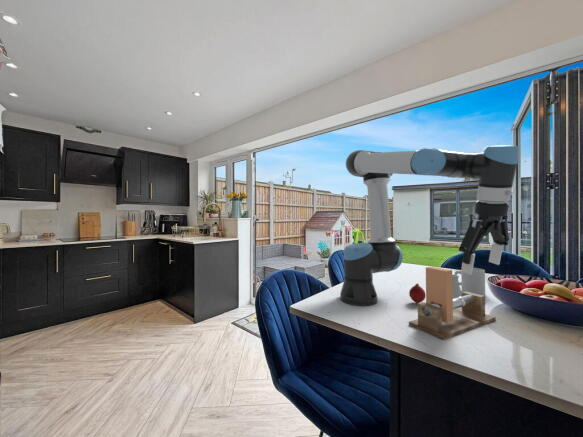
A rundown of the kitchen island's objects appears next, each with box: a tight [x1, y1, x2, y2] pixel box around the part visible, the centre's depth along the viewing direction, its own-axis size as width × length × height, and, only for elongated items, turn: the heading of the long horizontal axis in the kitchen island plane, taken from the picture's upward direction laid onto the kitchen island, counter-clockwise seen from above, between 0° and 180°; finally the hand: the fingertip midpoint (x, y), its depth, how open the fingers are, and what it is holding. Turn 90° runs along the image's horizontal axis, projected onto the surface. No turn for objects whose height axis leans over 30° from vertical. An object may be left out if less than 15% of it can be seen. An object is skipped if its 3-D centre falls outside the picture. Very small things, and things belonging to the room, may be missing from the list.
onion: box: [408, 283, 426, 304], centre depth 98 cm, size 6×6×8 cm
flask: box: [452, 274, 462, 299], centre depth 102 cm, size 7×7×10 cm
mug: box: [453, 267, 486, 297], centre depth 110 cm, size 12×8×11 cm
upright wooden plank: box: [425, 266, 453, 323], centre depth 77 cm, size 3×7×16 cm, turn 26°
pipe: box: [422, 295, 476, 317], centre depth 80 cm, size 26×3×3 cm, turn 116°
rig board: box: [408, 291, 497, 341], centre depth 80 cm, size 28×11×8 cm, turn 116°
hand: (480, 267), depth 76 cm, fingers open, 13 cm apart
